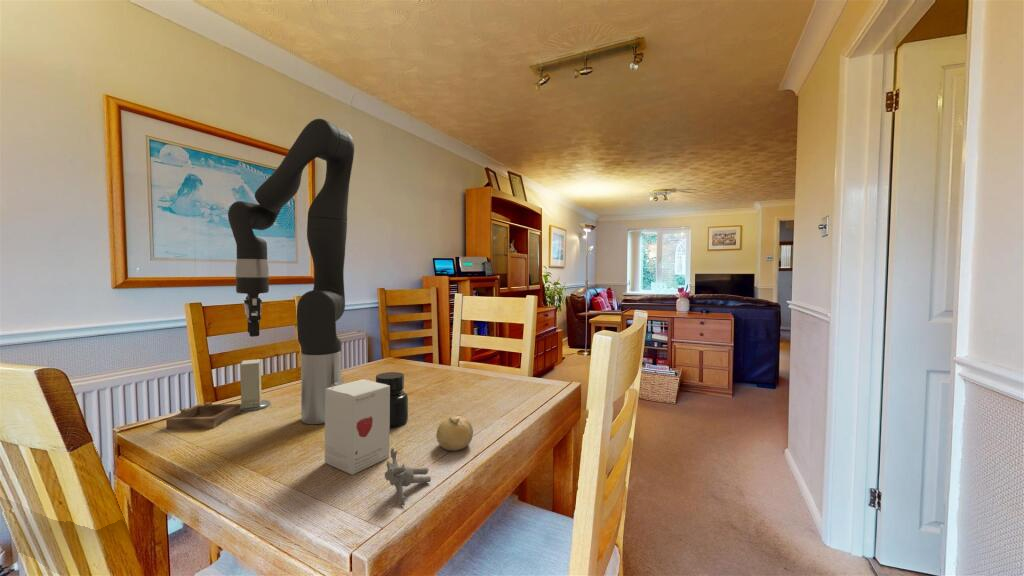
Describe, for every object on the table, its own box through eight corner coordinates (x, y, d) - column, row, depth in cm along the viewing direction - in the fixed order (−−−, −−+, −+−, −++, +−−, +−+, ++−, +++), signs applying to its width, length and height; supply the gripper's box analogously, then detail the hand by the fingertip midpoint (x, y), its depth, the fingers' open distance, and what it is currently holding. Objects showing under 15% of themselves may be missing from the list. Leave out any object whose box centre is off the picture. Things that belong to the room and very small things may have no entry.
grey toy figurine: (445, 495, 66) (401, 497, 59) (423, 513, 67) (378, 517, 61) (430, 441, 72) (390, 438, 66) (411, 459, 74) (370, 457, 68)
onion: (428, 447, 84) (428, 414, 83) (456, 436, 90) (456, 405, 89) (452, 458, 78) (452, 424, 78) (480, 446, 84) (480, 414, 84)
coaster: (275, 401, 112) (275, 399, 112) (260, 411, 104) (260, 409, 104) (246, 402, 111) (246, 400, 111) (228, 412, 103) (228, 409, 103)
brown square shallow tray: (240, 412, 102) (240, 401, 102) (213, 428, 92) (213, 415, 92) (197, 413, 101) (197, 402, 101) (166, 429, 91) (165, 416, 91)
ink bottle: (373, 416, 101) (373, 371, 100) (408, 414, 103) (408, 369, 103) (369, 431, 91) (369, 381, 91) (407, 428, 94) (407, 379, 93)
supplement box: (351, 476, 71) (351, 396, 70) (323, 463, 76) (323, 388, 75) (391, 457, 79) (391, 384, 78) (362, 446, 83) (363, 378, 83)
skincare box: (260, 407, 105) (259, 362, 105) (240, 409, 103) (239, 364, 103) (261, 400, 111) (261, 358, 110) (243, 402, 109) (242, 359, 108)
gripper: (271, 276, 103) (271, 336, 103) (266, 275, 114) (266, 330, 115) (236, 275, 98) (237, 339, 99) (235, 275, 110) (235, 332, 110)
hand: (253, 334), depth 107 cm, fingers open, 8 cm apart
